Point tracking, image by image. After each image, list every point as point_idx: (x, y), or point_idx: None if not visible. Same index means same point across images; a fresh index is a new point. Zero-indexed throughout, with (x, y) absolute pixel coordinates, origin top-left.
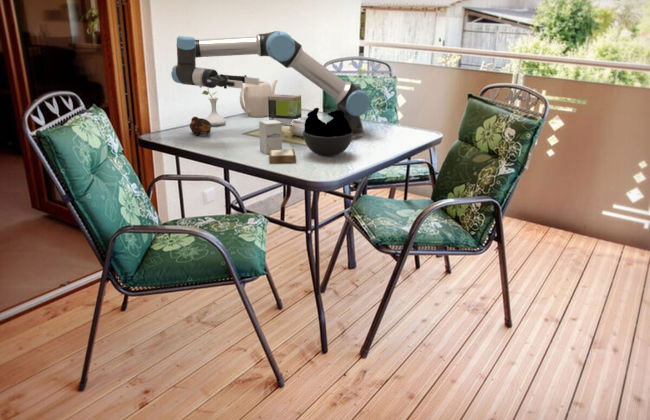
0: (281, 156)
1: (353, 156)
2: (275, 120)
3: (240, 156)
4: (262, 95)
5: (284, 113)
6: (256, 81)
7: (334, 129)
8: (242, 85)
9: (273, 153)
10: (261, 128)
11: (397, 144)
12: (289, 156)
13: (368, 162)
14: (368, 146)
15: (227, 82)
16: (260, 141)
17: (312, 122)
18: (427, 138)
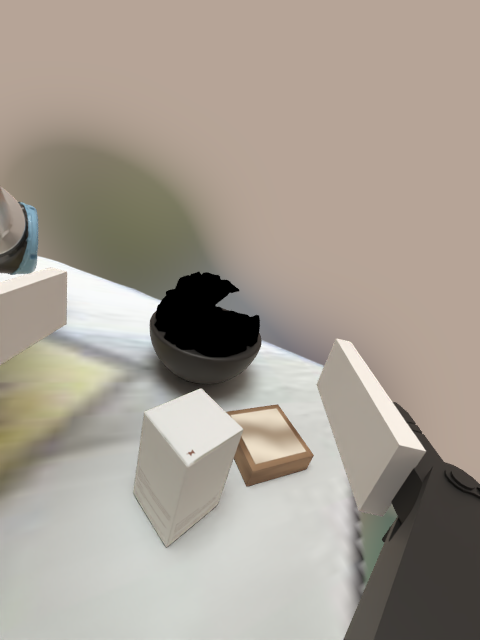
0: (295, 430)
1: None
2: (165, 407)
3: (279, 606)
4: None
5: None
6: (53, 302)
7: (188, 316)
8: (328, 365)
9: (285, 450)
10: (207, 470)
11: (94, 292)
12: (284, 416)
13: None
14: (108, 319)
15: (437, 459)
16: (182, 517)
17: (230, 325)
18: (53, 265)
